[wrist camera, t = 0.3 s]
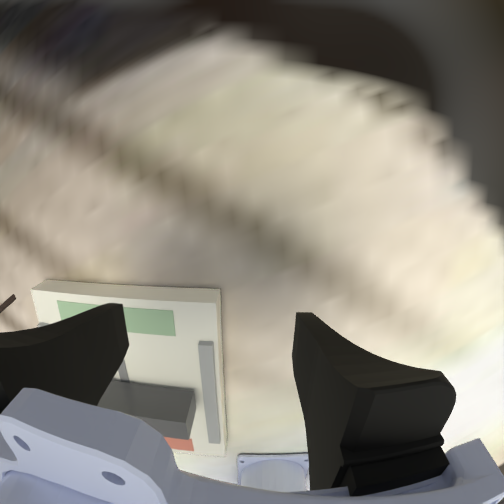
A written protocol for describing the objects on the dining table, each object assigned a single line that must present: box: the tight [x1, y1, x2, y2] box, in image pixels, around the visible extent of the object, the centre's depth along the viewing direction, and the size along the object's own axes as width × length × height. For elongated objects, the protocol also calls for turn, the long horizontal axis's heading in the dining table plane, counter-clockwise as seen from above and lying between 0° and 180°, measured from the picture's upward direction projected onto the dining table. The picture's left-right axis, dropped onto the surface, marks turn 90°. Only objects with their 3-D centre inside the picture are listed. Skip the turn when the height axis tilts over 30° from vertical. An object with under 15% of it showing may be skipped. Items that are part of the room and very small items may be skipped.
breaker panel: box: [31, 280, 227, 457], centre depth 23 cm, size 17×16×3 cm
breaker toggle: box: [97, 380, 196, 440], centre depth 20 cm, size 2×12×4 cm, turn 89°
